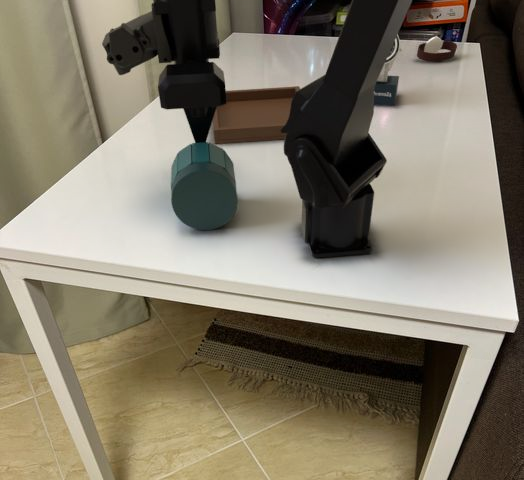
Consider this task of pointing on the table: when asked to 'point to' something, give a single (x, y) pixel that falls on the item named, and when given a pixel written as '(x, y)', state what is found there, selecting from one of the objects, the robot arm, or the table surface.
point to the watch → (387, 79)
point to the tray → (253, 115)
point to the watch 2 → (436, 50)
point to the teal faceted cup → (203, 186)
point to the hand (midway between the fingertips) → (200, 143)
